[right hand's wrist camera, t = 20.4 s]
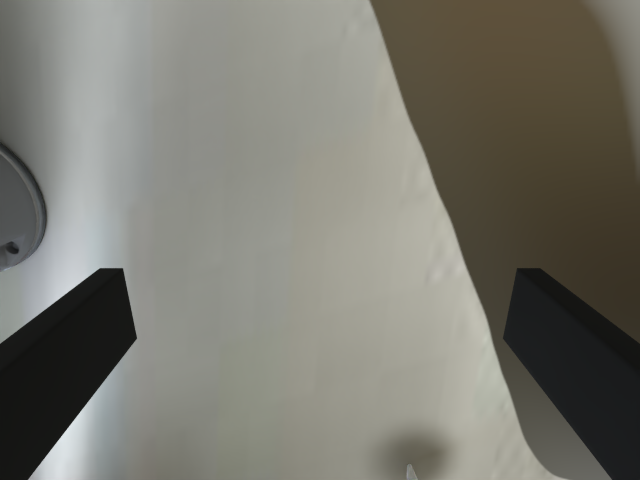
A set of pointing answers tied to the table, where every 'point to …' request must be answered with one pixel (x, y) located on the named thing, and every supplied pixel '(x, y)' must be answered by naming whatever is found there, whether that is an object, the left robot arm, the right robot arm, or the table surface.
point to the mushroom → (411, 473)
